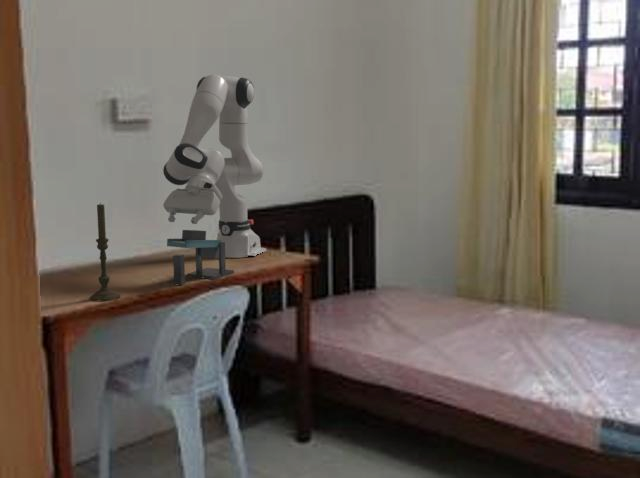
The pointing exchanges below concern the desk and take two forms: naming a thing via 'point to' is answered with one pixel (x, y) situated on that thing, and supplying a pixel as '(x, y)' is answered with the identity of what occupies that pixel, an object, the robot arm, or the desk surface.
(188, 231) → the block
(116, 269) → the desk surface
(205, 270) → the beam stand
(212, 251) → the beam
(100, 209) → the candlestick holder
